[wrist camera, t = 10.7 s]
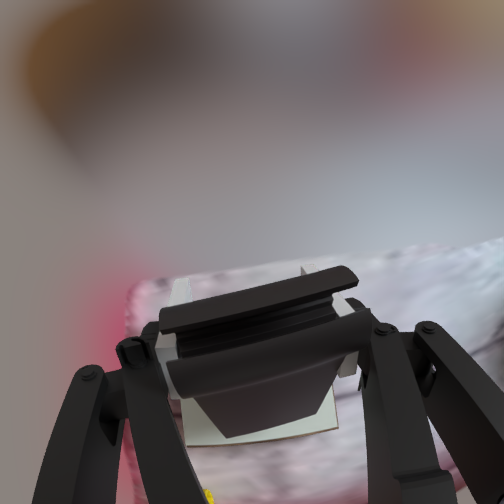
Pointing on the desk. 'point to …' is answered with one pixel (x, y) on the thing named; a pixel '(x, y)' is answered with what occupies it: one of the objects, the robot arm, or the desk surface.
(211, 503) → the watch
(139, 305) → the desk surface
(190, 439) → the upper block
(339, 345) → the phone stand
